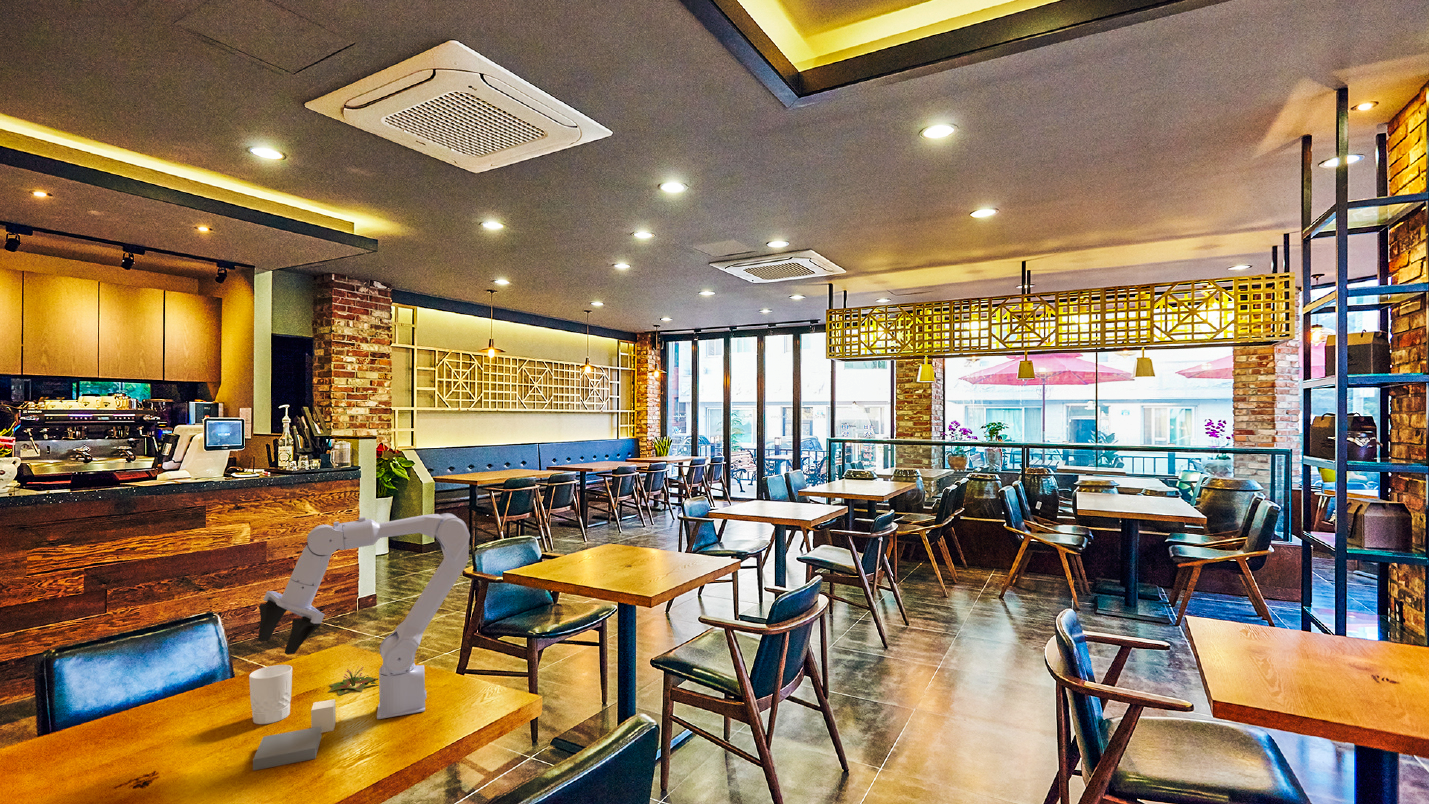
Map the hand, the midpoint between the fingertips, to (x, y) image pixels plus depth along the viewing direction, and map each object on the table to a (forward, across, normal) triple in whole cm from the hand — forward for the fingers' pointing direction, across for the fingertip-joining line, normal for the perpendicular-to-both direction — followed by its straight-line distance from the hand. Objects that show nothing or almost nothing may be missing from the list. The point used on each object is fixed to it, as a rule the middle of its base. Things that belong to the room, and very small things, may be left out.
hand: (276, 646), depth 141 cm
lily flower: (+12, -1, +30) cm, 32 cm away
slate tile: (+16, +13, 0) cm, 21 cm away
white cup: (+17, -4, +12) cm, 21 cm away
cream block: (+14, +11, +10) cm, 20 cm away
